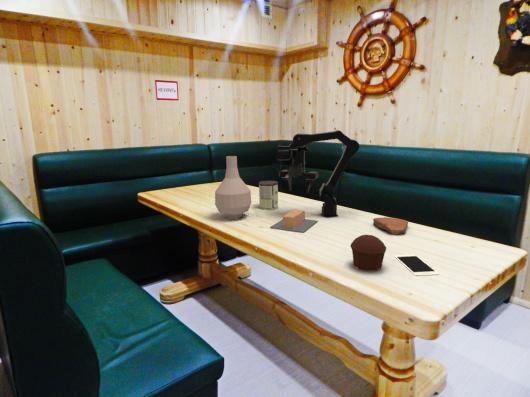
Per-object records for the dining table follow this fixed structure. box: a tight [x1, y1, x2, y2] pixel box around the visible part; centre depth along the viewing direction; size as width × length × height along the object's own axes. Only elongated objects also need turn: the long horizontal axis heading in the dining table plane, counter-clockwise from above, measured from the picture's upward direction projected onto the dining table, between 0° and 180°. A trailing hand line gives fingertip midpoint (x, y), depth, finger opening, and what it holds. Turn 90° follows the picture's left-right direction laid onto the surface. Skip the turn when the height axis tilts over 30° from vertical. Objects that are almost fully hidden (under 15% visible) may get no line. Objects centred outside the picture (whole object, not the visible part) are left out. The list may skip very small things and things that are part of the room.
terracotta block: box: [282, 209, 306, 229], centre depth 161 cm, size 5×5×13 cm
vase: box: [214, 155, 252, 220], centre depth 173 cm, size 18×18×30 cm
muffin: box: [350, 234, 387, 272], centre depth 116 cm, size 12×11×10 cm
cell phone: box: [393, 254, 440, 277], centre depth 117 cm, size 8×16×1 cm, turn 4°
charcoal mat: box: [269, 218, 319, 234], centre depth 162 cm, size 18×16×1 cm
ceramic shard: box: [372, 216, 409, 236], centre depth 153 cm, size 15×6×15 cm
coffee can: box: [258, 180, 279, 211], centre depth 192 cm, size 10×10×14 cm
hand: (298, 191), depth 175 cm, fingers open, 9 cm apart
